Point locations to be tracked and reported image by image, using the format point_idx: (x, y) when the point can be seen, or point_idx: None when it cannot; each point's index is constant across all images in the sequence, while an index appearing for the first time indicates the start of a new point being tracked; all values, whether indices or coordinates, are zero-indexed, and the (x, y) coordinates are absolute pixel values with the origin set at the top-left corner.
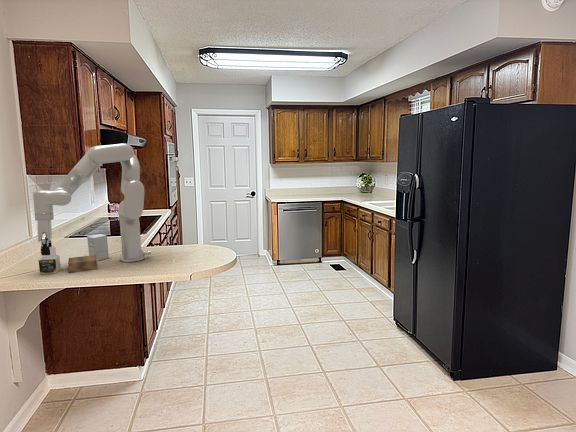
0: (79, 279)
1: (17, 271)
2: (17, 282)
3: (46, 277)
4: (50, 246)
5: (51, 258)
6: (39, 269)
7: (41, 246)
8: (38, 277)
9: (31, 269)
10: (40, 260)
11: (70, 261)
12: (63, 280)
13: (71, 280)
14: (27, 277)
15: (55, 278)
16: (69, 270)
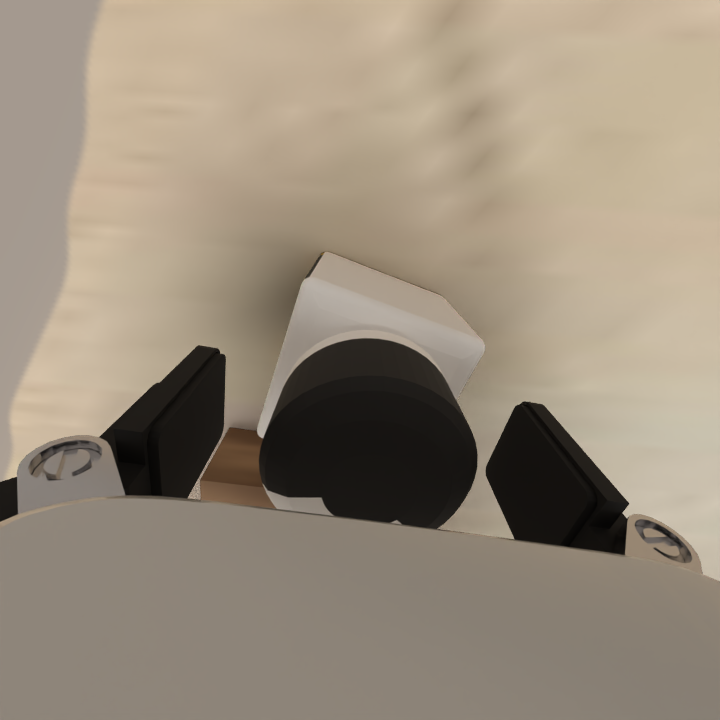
0: (25, 454)
1: (618, 49)
2: (112, 16)
3: (182, 286)
4: (392, 522)
5: (268, 409)
6: (320, 257)
7: (48, 444)
8: (217, 228)
9: (577, 198)
10: (299, 297)
11: (270, 500)
12: (33, 377)
13: (15, 416)
14: (273, 135)
15: (117, 339)
16: (222, 443)
